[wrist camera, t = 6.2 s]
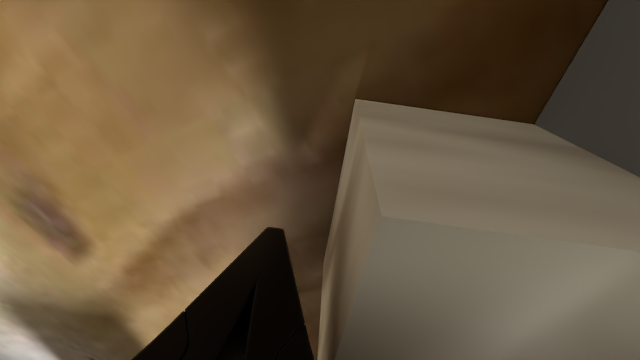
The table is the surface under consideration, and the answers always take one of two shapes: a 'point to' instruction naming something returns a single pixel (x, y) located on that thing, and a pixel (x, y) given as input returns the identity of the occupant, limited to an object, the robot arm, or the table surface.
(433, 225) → the pale block
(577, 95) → the grey flat board
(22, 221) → the table surface
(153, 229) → the table surface
